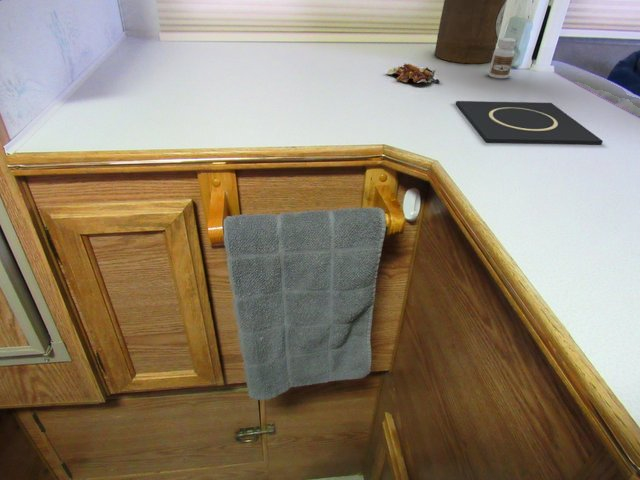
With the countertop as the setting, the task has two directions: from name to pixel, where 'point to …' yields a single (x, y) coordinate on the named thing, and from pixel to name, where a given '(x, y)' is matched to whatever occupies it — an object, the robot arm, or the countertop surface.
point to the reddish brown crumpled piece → (413, 73)
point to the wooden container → (469, 30)
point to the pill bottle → (502, 58)
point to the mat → (525, 123)
